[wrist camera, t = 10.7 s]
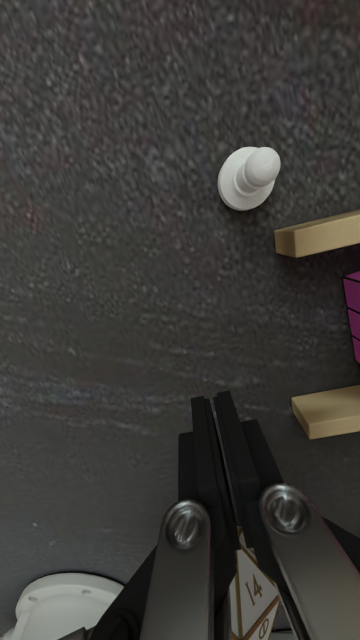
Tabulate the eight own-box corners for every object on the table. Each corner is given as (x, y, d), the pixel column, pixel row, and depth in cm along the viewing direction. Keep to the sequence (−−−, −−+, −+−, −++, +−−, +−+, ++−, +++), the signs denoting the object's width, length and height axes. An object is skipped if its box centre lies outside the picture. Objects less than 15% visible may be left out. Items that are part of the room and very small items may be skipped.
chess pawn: (207, 173, 12) (217, 151, 9) (255, 139, 11) (284, 102, 8) (232, 221, 13) (250, 218, 9) (278, 191, 12) (314, 176, 9)
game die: (205, 466, 24) (243, 517, 14) (270, 538, 23) (357, 645, 13) (135, 550, 21) (124, 679, 12) (204, 634, 20) (253, 854, 11)
